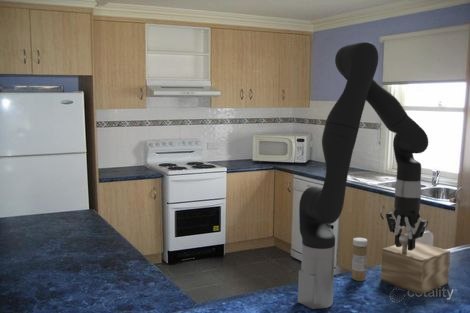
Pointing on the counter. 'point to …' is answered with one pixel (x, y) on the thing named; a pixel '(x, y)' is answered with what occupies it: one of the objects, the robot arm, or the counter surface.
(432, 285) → the wooden box
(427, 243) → the can
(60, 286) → the counter surface
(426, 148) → the robot arm
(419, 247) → the wooden box lid
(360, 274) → the sprinkles bottle
